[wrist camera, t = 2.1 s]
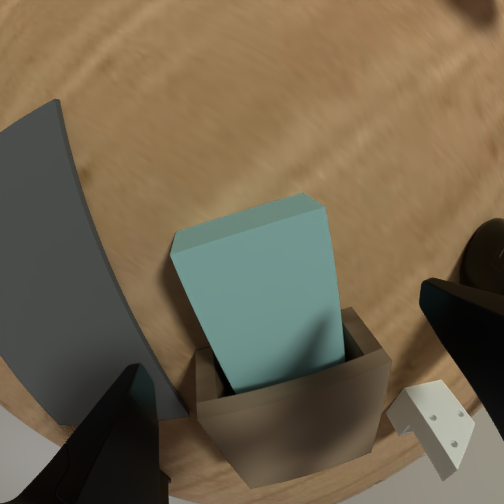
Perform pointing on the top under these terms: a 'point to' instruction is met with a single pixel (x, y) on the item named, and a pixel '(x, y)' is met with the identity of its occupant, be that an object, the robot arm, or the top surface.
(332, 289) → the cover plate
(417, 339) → the top surface
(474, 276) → the supplement bottle
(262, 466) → the sleeve box
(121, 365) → the rubber mat
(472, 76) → the top surface
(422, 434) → the white wedge bracket
